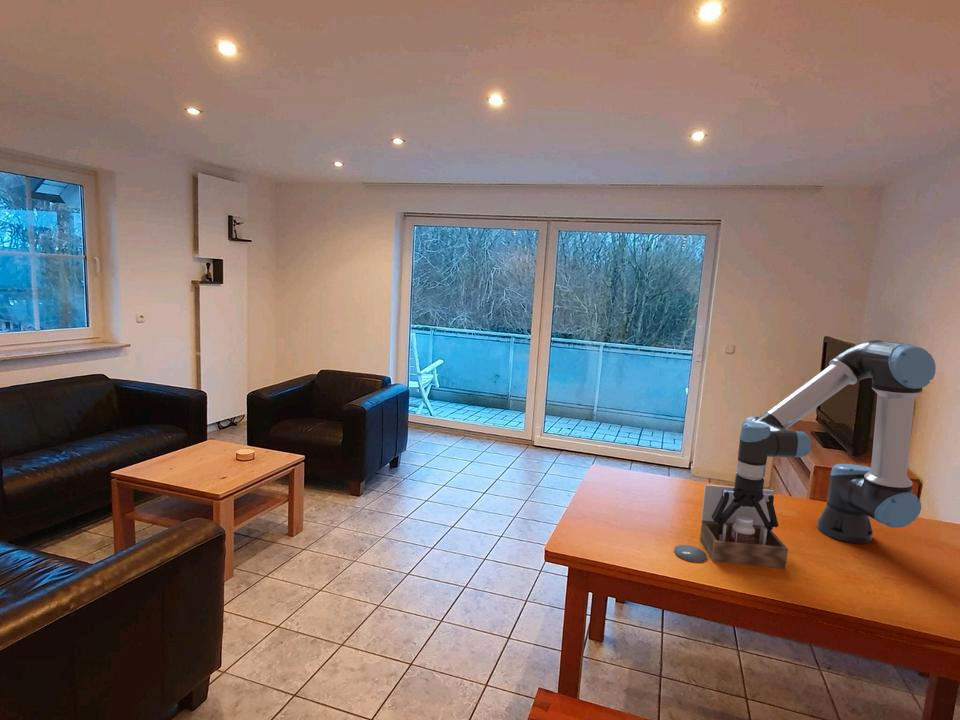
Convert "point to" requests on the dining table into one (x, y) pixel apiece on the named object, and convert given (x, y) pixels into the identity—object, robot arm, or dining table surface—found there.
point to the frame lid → (714, 496)
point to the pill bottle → (743, 530)
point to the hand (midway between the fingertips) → (741, 545)
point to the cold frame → (743, 548)
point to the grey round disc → (690, 553)
